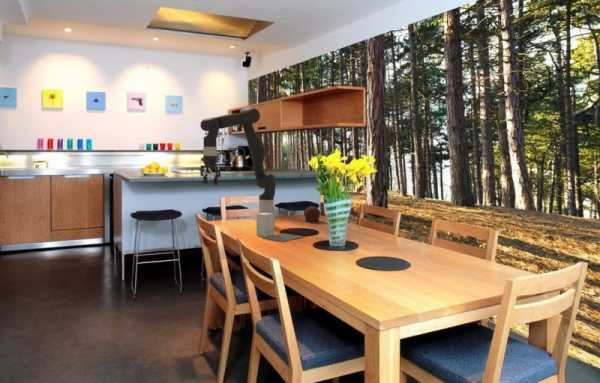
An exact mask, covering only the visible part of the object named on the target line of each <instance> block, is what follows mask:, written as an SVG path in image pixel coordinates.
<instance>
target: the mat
mask: <svg viewBox="0 0 600 383" xmlns="http://www.w3.org/2000/svg"><path fill="white" fill-rule="evenodd" d="M302 238H304V236H303V235H297V234H290V233H284V232H282V233H278V234H274V235H272V236H267V237H263V236H262V239H264V240H268V241H275V242H280V243H285V242H286V243H287V242H291V241H294V240H299V239H302Z"/></svg>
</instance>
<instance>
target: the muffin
mask: <svg viewBox="0 0 600 383" xmlns="http://www.w3.org/2000/svg"><path fill="white" fill-rule="evenodd" d="M303 214H304V222H306V223H311V224H312V223H315V224H316V223H318V222H319V221H320V215H321V210H320V209H319V208H318V207H316V206H307V207H306V208H305V209H304V211H303Z"/></svg>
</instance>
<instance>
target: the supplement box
mask: <svg viewBox="0 0 600 383" xmlns="http://www.w3.org/2000/svg"><path fill="white" fill-rule="evenodd" d="M272 235H275V226H274V214H273V213H259V212H258V213H256V236H258V237H262V238H263V237H267V236H272Z"/></svg>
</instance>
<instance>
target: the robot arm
mask: <svg viewBox="0 0 600 383" xmlns="http://www.w3.org/2000/svg"><path fill="white" fill-rule="evenodd" d="M260 118H261V114H260V111H259V110H258V109H257V108H255V107H245V108H241V109H240V110H239V113H229V114H224V115H219V116H214V117H207V118H204V119H202V120H201V122H200V125H199V127H200V128H201V130H202V131H204V132H207V135H206V136H203V139H202V140H203V150H202V155H203V156H202V158H203V159H202V161H203V165H202V164H201V165H200V169H199V170H200V174H199V175H200V177H202V181H203V182H202V183H203V185H207V184H208V175H210V174H211V176H212V177H213V186H216V185H218V184H219V180H218V179H219V178H221V176H222V175H221V166H220V165H217V164H218V149H217V138H218V135H219V130H220V129H226V128H230V127H234V126H238V125H239V126H240V125H241V126H242V129H243V131H244V134H245V138H246V142H247V146H248V149H249V153H250V154H249V155H250V156H251V161H252V166H253V170H254V177H255V181H256V185H257V187H259V189H264V190H263V192H262V193H261V194H259V195H258V214H259V213H273V214H274V227H275V226H276V211H275V210H274V209H275V203H274V202H275V200H274V199H275V195H276V177H275V175H274V174H271V173H266V172H265V168H264V161H265V157H266V149H265V145H264V142H263V139H261V137H260V135H258V133H257V132H256V131H255V128H254V125H253V124H256V123H258V122H259V121H260Z"/></svg>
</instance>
